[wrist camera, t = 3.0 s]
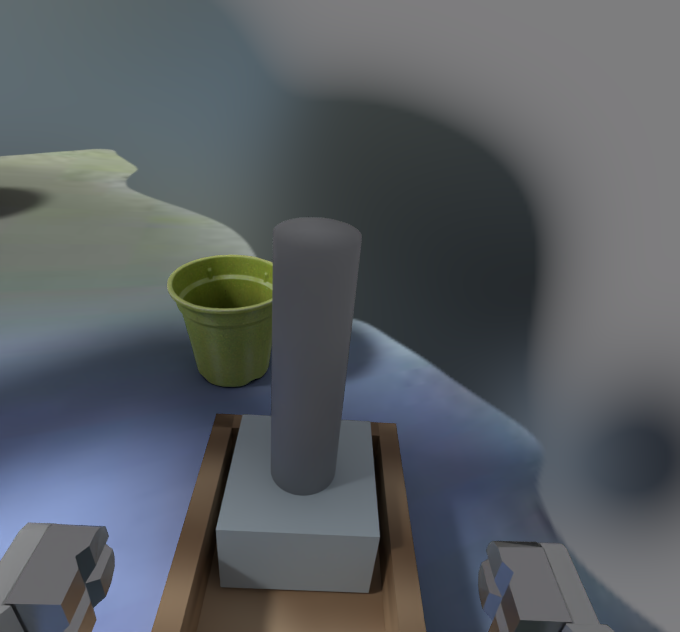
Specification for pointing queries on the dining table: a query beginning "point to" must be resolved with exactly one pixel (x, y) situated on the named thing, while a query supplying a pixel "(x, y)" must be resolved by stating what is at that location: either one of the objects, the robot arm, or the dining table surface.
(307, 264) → the gray post
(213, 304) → the plant pot
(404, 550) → the bay
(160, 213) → the dining table surface
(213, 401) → the dining table surface
